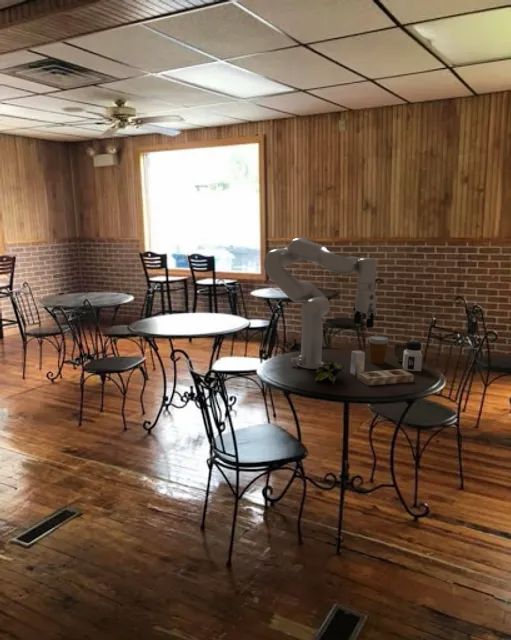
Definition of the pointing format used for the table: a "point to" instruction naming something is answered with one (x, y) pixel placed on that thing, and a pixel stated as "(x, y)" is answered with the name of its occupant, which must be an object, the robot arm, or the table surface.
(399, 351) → the cup
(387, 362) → the table surface
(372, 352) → the disposable coffee cup
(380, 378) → the block with square holes
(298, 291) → the robot arm
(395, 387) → the table surface
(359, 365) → the peg
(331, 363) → the passion flower
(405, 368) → the container
